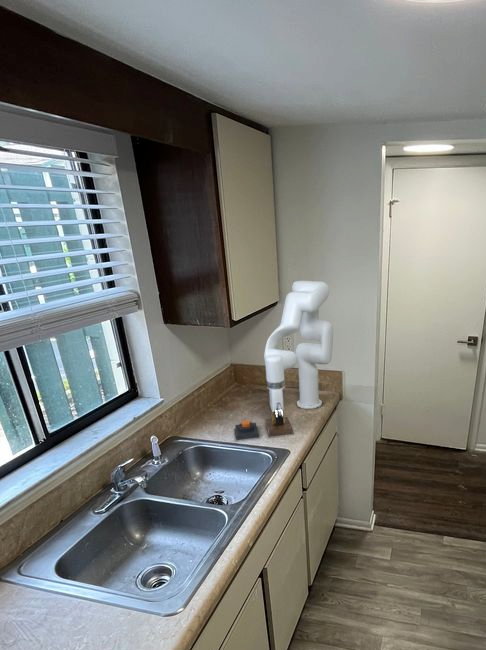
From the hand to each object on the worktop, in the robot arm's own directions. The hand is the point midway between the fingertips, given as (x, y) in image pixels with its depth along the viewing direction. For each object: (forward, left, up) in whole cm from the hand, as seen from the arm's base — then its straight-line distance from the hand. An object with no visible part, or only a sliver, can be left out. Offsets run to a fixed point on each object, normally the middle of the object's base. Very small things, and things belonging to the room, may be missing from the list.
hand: (278, 420), depth 191 cm
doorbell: (0, -14, -4) cm, 15 cm away
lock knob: (0, 0, -1) cm, 1 cm away
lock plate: (0, 0, -4) cm, 4 cm away
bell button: (0, -14, -1) cm, 14 cm away
